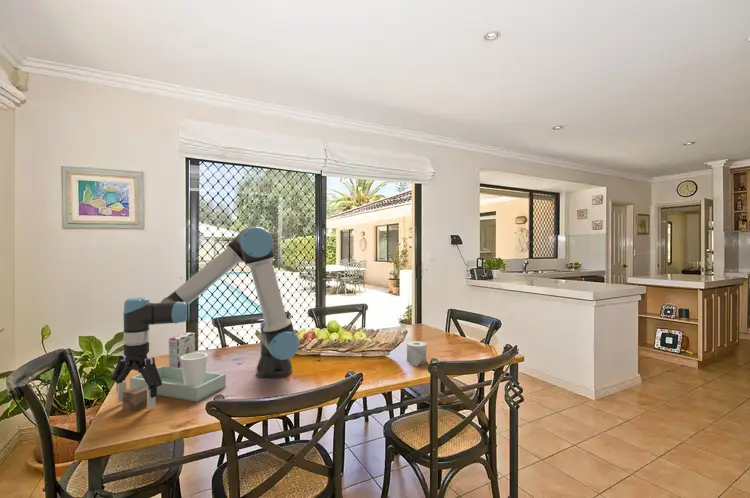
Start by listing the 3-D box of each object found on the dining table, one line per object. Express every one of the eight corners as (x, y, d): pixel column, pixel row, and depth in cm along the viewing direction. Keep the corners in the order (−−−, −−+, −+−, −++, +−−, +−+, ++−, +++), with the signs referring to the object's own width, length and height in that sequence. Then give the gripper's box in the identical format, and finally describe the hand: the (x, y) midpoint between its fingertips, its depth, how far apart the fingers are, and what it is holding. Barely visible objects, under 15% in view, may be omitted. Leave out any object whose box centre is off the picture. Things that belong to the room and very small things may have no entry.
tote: (225, 386, 149) (225, 374, 149) (197, 402, 135) (196, 388, 134) (162, 377, 159) (162, 365, 159) (130, 390, 144) (129, 377, 144)
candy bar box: (186, 367, 171) (186, 332, 171) (196, 368, 170) (196, 332, 170) (168, 376, 160) (168, 338, 160) (178, 377, 159) (178, 338, 159)
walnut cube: (151, 404, 133) (151, 387, 133) (135, 411, 127) (135, 394, 127) (138, 402, 134) (138, 385, 134) (122, 409, 129) (122, 391, 129)
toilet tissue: (416, 367, 173) (416, 349, 172) (403, 359, 185) (403, 342, 185) (433, 365, 176) (433, 347, 176) (419, 357, 188) (420, 340, 188)
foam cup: (186, 385, 148) (186, 352, 148) (210, 384, 149) (210, 352, 149) (176, 395, 139) (176, 360, 139) (202, 394, 140) (202, 359, 140)
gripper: (173, 343, 130) (173, 404, 130) (120, 337, 138) (120, 394, 138) (154, 349, 123) (154, 413, 123) (99, 342, 131) (99, 402, 131)
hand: (136, 403), depth 131 cm, fingers open, 13 cm apart
